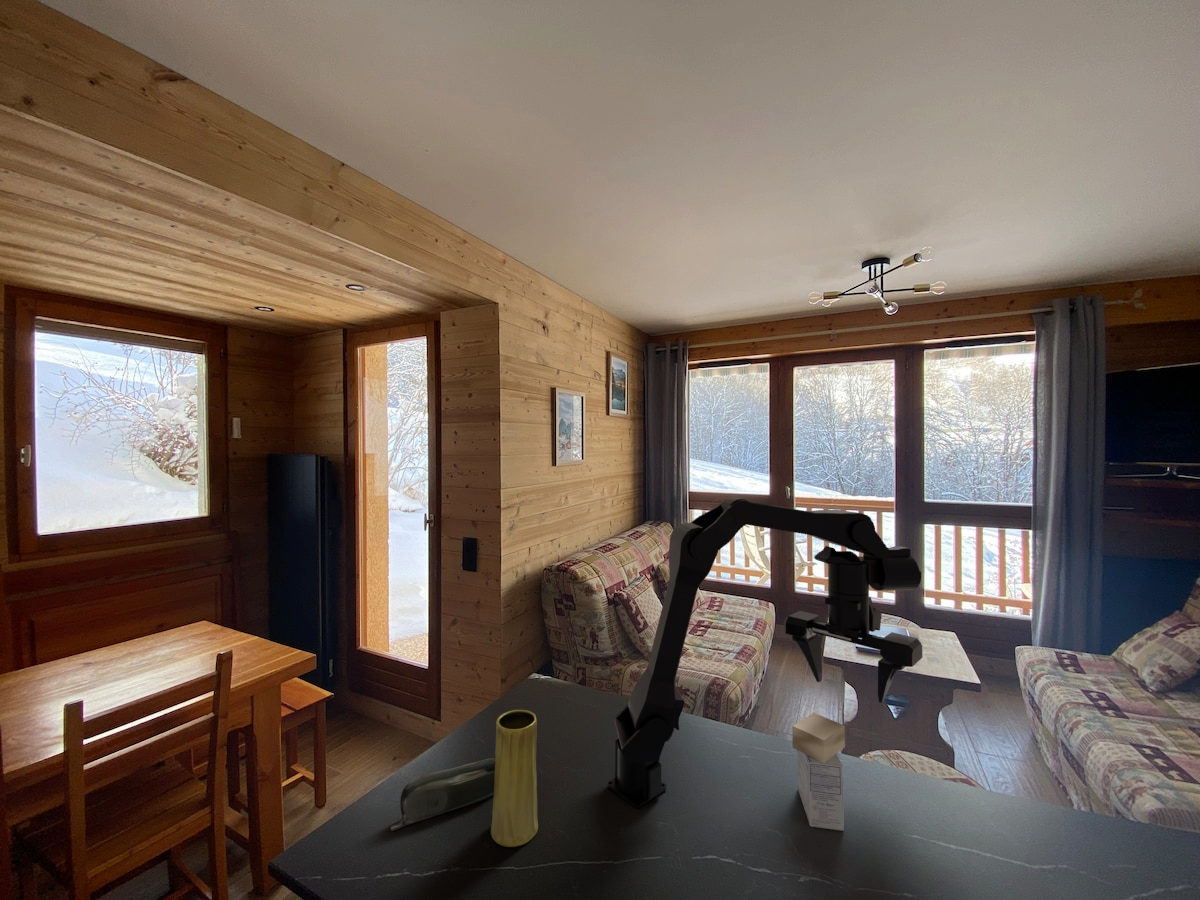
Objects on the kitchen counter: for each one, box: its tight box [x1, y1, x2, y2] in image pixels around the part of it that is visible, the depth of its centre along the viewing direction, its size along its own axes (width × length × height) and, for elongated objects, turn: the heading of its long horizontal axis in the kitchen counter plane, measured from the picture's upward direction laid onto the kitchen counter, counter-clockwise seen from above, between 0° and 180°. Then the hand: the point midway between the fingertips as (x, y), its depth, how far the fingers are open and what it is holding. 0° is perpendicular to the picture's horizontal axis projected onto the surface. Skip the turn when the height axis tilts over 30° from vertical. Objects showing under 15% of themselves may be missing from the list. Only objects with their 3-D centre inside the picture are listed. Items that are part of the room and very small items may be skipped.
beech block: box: [792, 712, 846, 763], centre depth 68 cm, size 4×6×3 cm
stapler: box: [389, 756, 495, 832], centre depth 67 cm, size 5×3×15 cm
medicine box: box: [796, 750, 845, 832], centre depth 68 cm, size 8×4×9 cm, turn 169°
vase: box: [490, 709, 539, 848], centre depth 63 cm, size 6×6×14 cm
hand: (848, 691), depth 75 cm, fingers open, 9 cm apart
